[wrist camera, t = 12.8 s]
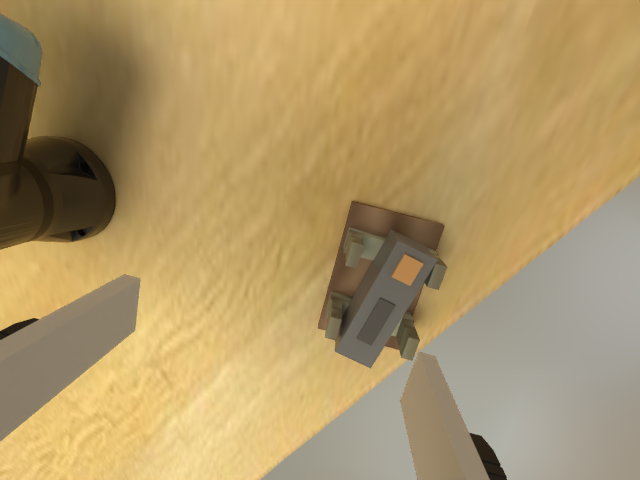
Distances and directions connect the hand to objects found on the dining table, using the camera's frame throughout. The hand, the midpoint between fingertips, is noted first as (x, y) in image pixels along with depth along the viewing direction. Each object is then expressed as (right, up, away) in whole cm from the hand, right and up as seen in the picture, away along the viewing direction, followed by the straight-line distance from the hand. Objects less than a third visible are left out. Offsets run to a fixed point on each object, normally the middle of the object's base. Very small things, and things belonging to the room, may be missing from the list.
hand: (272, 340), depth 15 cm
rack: (+11, -1, +33) cm, 35 cm away
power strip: (+10, -2, +29) cm, 31 cm away
